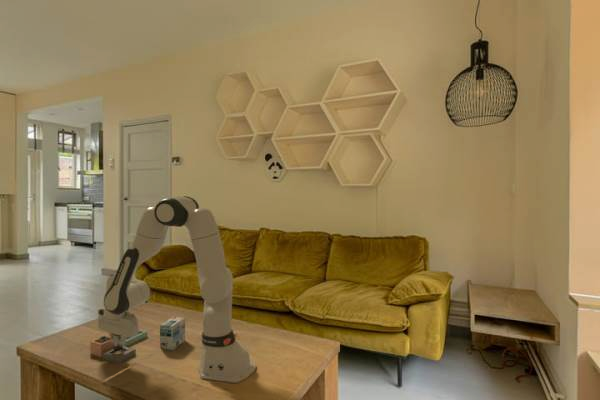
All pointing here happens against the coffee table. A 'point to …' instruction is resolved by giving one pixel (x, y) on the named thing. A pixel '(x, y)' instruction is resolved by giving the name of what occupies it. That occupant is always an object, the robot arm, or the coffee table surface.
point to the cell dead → (103, 339)
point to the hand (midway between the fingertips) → (118, 343)
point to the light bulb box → (172, 333)
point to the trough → (135, 338)
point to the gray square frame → (121, 357)
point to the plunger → (118, 352)
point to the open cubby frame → (100, 347)
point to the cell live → (117, 343)
